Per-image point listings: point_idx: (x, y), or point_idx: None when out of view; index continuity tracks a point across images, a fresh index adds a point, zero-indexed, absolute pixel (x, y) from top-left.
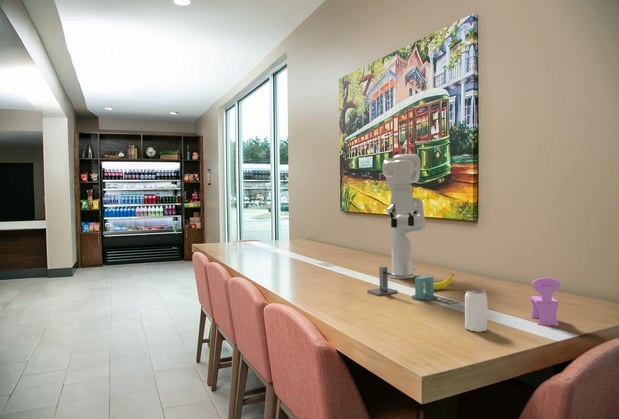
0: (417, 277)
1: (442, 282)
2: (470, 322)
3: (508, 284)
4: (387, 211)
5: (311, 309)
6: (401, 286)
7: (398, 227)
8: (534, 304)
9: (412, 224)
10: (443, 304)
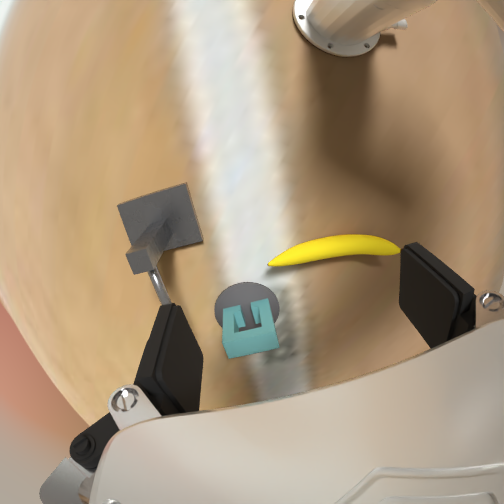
0: (231, 341)
1: (357, 251)
2: None
3: (484, 246)
4: (61, 479)
5: (13, 307)
6: (259, 154)
7: None
8: None
9: (405, 312)
10: (256, 361)
